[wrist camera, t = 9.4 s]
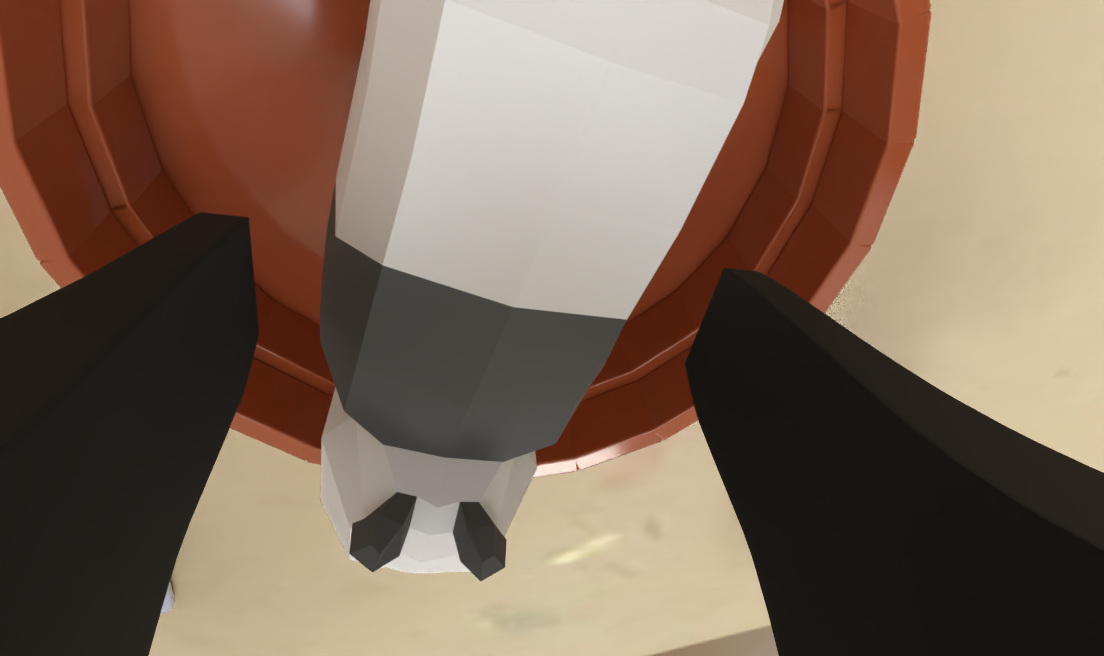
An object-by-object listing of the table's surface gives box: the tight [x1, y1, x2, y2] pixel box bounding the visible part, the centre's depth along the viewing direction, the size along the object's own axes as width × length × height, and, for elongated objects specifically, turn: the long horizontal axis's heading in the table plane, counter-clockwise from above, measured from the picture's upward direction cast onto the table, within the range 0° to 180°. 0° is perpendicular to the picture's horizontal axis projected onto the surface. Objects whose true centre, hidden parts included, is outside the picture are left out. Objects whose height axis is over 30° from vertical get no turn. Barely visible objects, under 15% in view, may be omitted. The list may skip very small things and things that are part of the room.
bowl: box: [0, 0, 931, 478], centre depth 15 cm, size 17×17×4 cm
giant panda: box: [320, 0, 784, 581], centre depth 12 cm, size 15×6×10 cm, turn 160°
